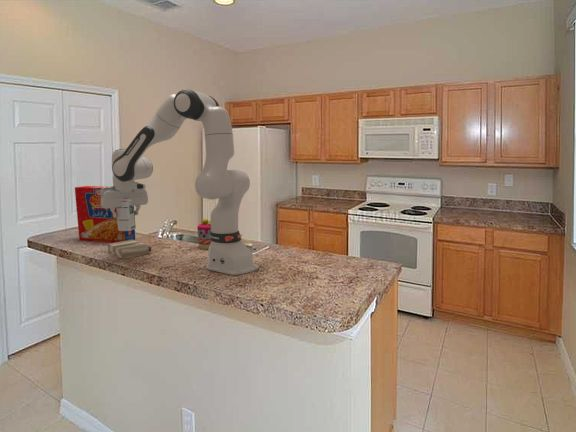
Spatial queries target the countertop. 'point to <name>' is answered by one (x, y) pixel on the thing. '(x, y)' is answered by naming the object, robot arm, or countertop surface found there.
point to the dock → (128, 249)
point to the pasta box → (97, 218)
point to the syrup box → (126, 216)
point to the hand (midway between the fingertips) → (126, 216)
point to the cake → (204, 234)
